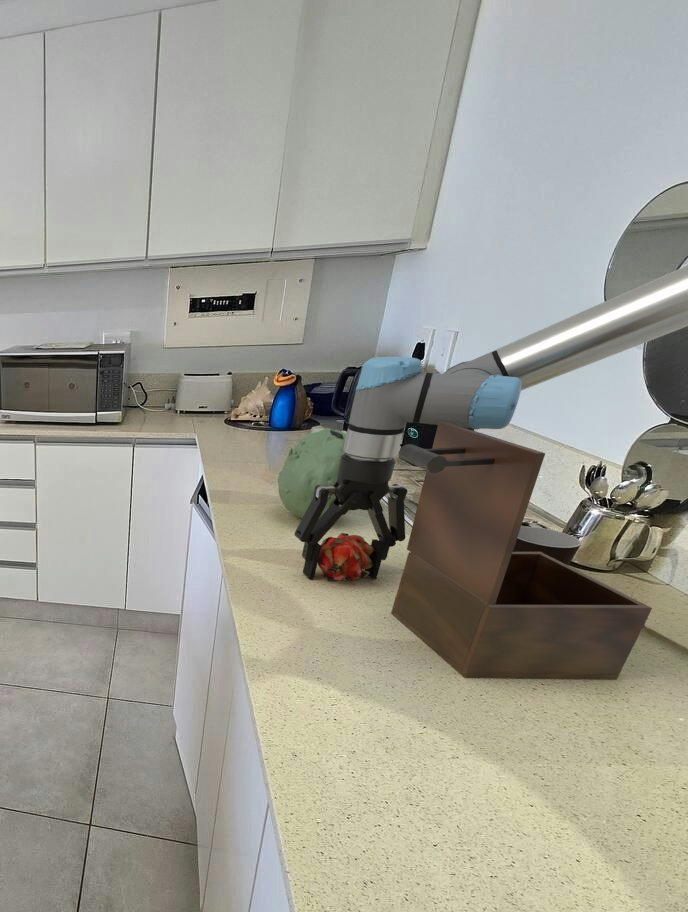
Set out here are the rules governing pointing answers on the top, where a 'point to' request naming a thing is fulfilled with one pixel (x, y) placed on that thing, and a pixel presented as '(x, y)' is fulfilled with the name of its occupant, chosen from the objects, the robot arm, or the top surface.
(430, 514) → the bin lid
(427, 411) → the robot arm
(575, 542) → the coffee mug
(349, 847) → the top surface
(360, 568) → the dragon fruit
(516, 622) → the bread bin
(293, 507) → the green bumpy ovoid
